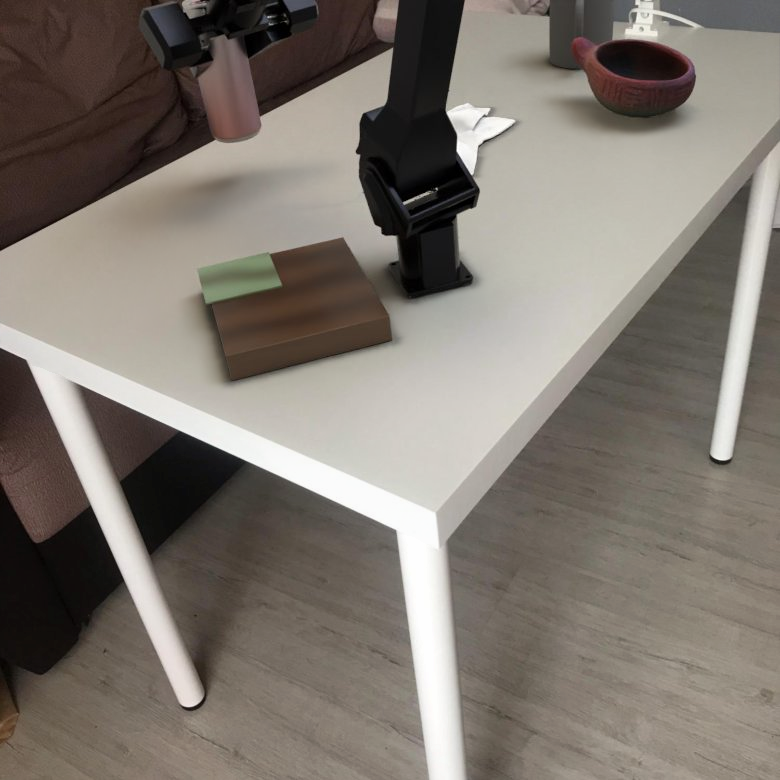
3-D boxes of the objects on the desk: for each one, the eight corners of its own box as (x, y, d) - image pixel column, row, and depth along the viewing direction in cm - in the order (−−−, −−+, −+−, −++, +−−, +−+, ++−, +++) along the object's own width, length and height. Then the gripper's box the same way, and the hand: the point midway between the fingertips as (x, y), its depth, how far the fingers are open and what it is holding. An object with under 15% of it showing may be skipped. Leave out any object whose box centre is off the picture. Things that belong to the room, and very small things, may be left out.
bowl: (696, 96, 112) (703, 32, 108) (687, 133, 103) (694, 65, 98) (572, 94, 118) (573, 33, 113) (553, 129, 108) (553, 64, 104)
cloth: (433, 106, 120) (432, 89, 118) (529, 111, 114) (529, 94, 113) (347, 184, 101) (344, 165, 100) (456, 194, 96) (455, 175, 95)
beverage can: (206, 134, 103) (173, 0, 94) (253, 121, 105) (225, -11, 96) (220, 148, 99) (188, 9, 90) (269, 135, 100) (242, -3, 92)
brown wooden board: (392, 340, 74) (389, 313, 72) (226, 382, 72) (218, 355, 70) (346, 259, 87) (343, 234, 85) (203, 292, 84) (196, 268, 83)
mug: (551, 51, 134) (552, -33, 127) (612, 49, 132) (616, -37, 124) (544, 80, 123) (544, -10, 116) (610, 78, 121) (615, -14, 114)
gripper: (285, -116, 89) (252, -11, 103) (117, -81, 81) (107, 28, 95) (340, -26, 88) (299, 67, 102) (176, 19, 80) (157, 113, 94)
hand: (218, 66), depth 98 cm, fingers closed on beverage can, 6 cm apart
